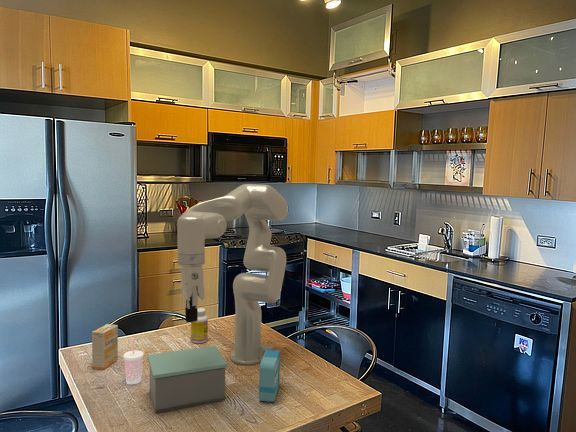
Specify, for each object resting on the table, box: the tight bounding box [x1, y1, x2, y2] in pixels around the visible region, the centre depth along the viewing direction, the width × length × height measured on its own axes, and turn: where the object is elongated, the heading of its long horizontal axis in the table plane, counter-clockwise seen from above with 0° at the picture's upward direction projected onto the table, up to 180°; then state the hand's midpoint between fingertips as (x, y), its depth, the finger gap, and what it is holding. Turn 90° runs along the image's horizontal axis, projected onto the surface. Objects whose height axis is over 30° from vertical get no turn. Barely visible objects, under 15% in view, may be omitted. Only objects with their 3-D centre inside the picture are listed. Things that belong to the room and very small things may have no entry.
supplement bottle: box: [190, 307, 209, 344], centre depth 173 cm, size 7×7×13 cm
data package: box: [258, 349, 281, 403], centre depth 133 cm, size 12×4×12 cm, turn 173°
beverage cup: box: [123, 338, 144, 385], centre depth 138 cm, size 6×6×14 cm
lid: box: [147, 345, 229, 379], centre depth 130 cm, size 21×15×1 cm
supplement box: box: [91, 323, 119, 371], centre depth 150 cm, size 8×5×13 cm, turn 168°
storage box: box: [149, 367, 226, 414], centre depth 131 cm, size 20×14×10 cm
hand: (191, 320), depth 125 cm, fingers closed
